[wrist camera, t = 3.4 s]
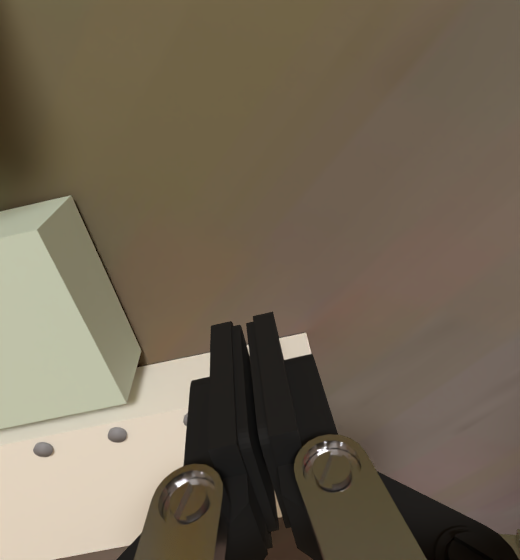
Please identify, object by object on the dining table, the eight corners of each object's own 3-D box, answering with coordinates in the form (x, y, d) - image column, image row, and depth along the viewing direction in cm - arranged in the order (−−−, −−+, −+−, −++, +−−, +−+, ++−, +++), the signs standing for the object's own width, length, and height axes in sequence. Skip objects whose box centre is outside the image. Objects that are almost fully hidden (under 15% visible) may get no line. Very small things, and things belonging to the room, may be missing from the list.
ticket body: (306, 332, 18) (319, 384, 16) (328, 451, 22) (342, 509, 20) (-167, 430, 19) (-232, 494, 17) (-64, 526, 23) (-103, 591, 21)
